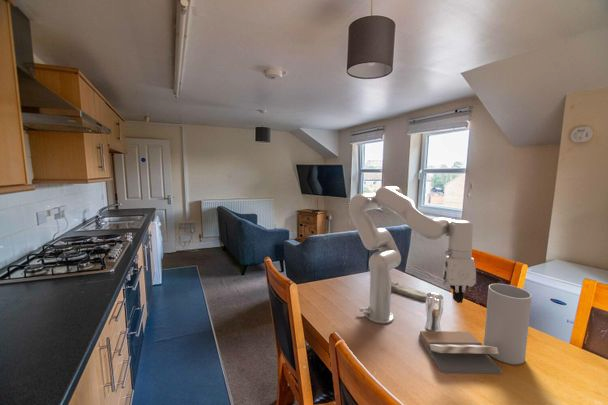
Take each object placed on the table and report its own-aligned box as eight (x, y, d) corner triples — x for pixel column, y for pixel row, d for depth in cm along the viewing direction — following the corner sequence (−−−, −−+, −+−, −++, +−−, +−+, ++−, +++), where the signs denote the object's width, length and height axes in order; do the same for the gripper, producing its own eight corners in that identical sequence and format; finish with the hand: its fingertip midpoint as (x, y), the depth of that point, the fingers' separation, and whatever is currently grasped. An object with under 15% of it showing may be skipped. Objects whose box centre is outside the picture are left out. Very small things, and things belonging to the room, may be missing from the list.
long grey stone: (426, 307, 137) (433, 302, 144) (428, 298, 137) (434, 292, 144) (367, 283, 162) (376, 280, 169) (368, 275, 161) (377, 272, 168)
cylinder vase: (527, 370, 92) (535, 302, 89) (484, 357, 98) (489, 293, 95) (521, 350, 102) (528, 288, 99) (482, 339, 109) (487, 281, 106)
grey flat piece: (442, 372, 91) (442, 362, 90) (418, 338, 109) (419, 329, 109) (501, 373, 90) (502, 363, 90) (467, 338, 109) (468, 330, 109)
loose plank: (440, 352, 92) (439, 346, 92) (430, 350, 99) (429, 344, 100) (498, 353, 91) (497, 347, 92) (484, 351, 99) (483, 344, 100)
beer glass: (440, 325, 118) (442, 293, 117) (443, 334, 112) (445, 300, 110) (423, 322, 121) (425, 291, 119) (425, 331, 114) (427, 298, 112)
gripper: (444, 257, 94) (443, 306, 96) (486, 256, 94) (484, 305, 96) (434, 251, 102) (433, 297, 103) (473, 250, 102) (471, 296, 103)
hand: (457, 301), depth 100 cm, fingers closed
